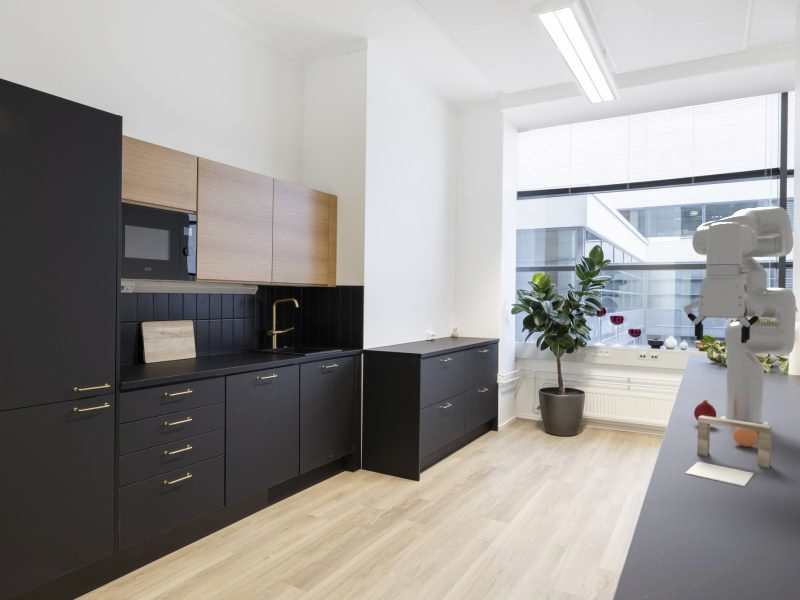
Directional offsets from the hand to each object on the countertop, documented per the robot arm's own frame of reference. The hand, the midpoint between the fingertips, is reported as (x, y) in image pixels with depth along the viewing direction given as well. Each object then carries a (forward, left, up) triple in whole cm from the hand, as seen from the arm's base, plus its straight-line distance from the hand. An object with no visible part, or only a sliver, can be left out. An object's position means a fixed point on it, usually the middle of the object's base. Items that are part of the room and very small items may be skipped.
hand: (721, 341), depth 133 cm
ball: (-11, +4, -25) cm, 28 cm away
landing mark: (+19, +4, -28) cm, 34 cm away
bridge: (+5, +4, -28) cm, 29 cm away
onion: (-28, -9, -28) cm, 41 cm away
